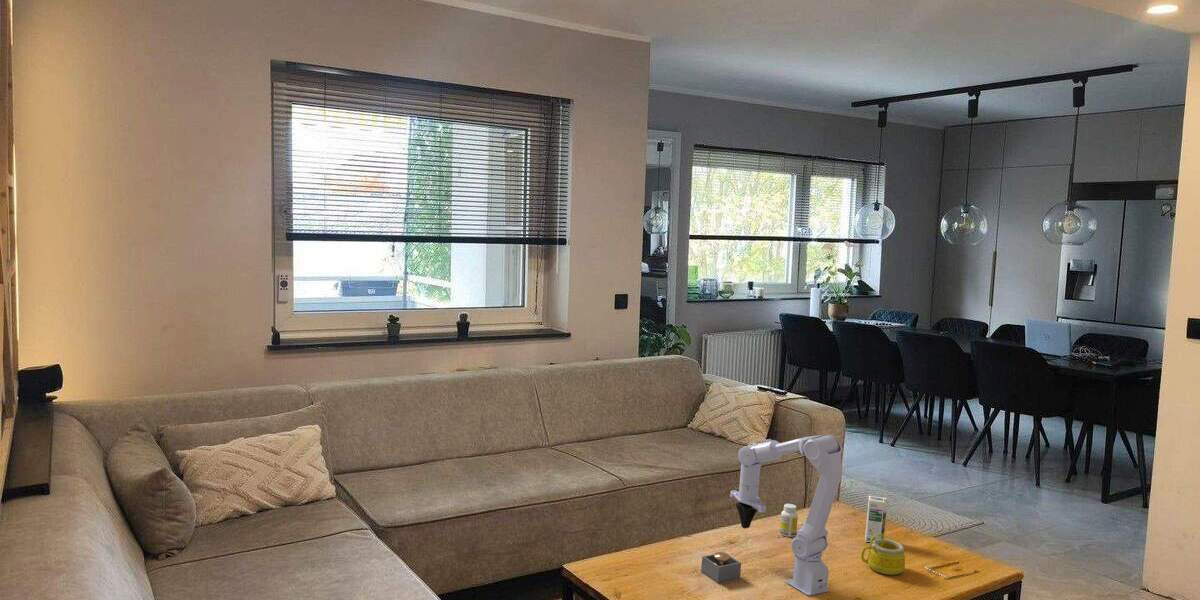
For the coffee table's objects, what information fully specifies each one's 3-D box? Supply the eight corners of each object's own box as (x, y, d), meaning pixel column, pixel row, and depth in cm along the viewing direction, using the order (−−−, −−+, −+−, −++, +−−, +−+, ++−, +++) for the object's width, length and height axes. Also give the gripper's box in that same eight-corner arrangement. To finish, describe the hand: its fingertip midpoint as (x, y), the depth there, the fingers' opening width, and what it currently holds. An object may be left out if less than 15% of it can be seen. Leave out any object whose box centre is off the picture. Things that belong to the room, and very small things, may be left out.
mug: (902, 565, 261) (906, 528, 259) (905, 580, 250) (909, 541, 249) (859, 558, 264) (863, 521, 263) (860, 572, 254) (864, 534, 252)
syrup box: (864, 542, 277) (869, 499, 276) (864, 536, 283) (869, 494, 281) (883, 545, 276) (887, 502, 274) (882, 539, 281) (887, 497, 280)
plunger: (735, 574, 244) (736, 557, 244) (718, 578, 241) (720, 560, 241) (722, 566, 249) (723, 549, 249) (706, 569, 246) (707, 552, 246)
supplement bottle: (795, 531, 283) (797, 503, 282) (797, 538, 277) (799, 509, 276) (778, 530, 283) (781, 502, 282) (780, 536, 278) (783, 507, 277)
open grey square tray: (739, 579, 244) (741, 562, 243) (717, 584, 240) (719, 567, 239) (722, 568, 251) (724, 552, 250) (700, 572, 247) (702, 556, 246)
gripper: (775, 490, 251) (771, 534, 253) (744, 475, 264) (740, 517, 265) (756, 493, 248) (753, 537, 249) (726, 477, 260) (722, 520, 262)
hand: (745, 527), depth 257 cm, fingers closed
